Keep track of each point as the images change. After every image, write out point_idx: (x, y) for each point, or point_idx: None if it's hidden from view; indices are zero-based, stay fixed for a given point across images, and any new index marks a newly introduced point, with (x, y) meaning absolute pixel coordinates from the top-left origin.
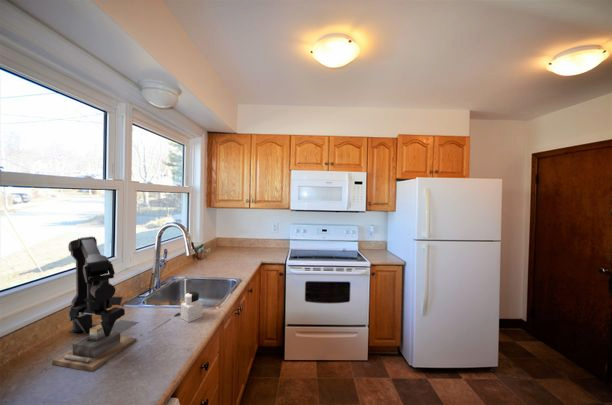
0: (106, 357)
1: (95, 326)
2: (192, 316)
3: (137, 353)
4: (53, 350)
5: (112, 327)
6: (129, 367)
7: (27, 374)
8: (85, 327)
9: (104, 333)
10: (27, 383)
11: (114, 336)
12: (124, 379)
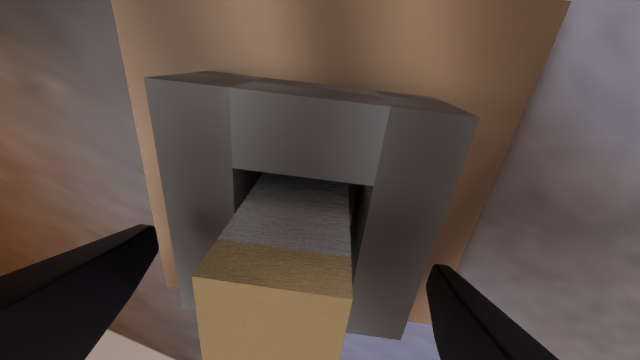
0: (458, 264)
1: (213, 328)
2: None
3: (621, 164)
4: (26, 174)
5: (547, 354)
6: (619, 278)
7: (163, 318)
8: (87, 324)
9: (440, 348)
10: None
11: (449, 186)
12: (629, 339)
